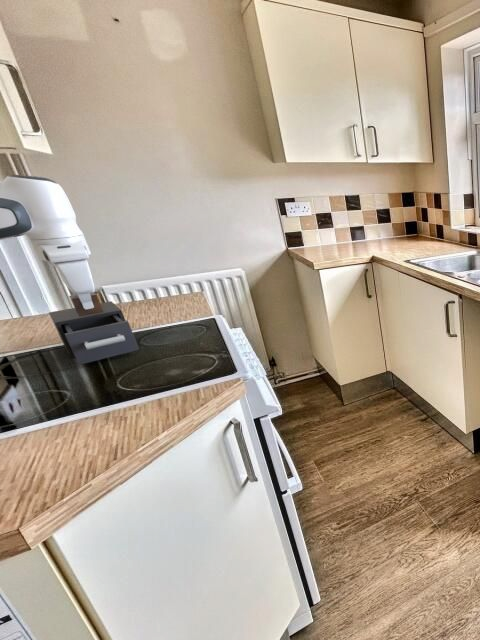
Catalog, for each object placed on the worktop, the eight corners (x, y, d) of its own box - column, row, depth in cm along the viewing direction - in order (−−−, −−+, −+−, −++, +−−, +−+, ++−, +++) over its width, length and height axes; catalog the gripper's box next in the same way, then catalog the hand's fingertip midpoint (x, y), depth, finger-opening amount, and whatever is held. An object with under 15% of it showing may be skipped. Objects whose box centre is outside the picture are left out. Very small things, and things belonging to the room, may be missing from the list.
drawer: (143, 353, 106) (132, 324, 103) (81, 369, 98) (67, 338, 95) (128, 338, 116) (117, 312, 113) (71, 352, 108) (58, 323, 105)
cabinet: (134, 343, 115) (121, 309, 112) (71, 358, 106) (54, 322, 103) (123, 332, 124) (111, 301, 120) (64, 345, 115) (48, 312, 111)
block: (79, 316, 101) (71, 298, 99) (76, 313, 104) (68, 295, 102) (104, 312, 104) (96, 294, 103) (100, 308, 107) (93, 291, 105)
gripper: (39, 247, 102) (63, 302, 107) (48, 256, 90) (75, 317, 95) (74, 243, 106) (96, 296, 112) (88, 251, 94) (112, 310, 100)
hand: (87, 306), depth 103 cm, fingers closed on block, 4 cm apart
